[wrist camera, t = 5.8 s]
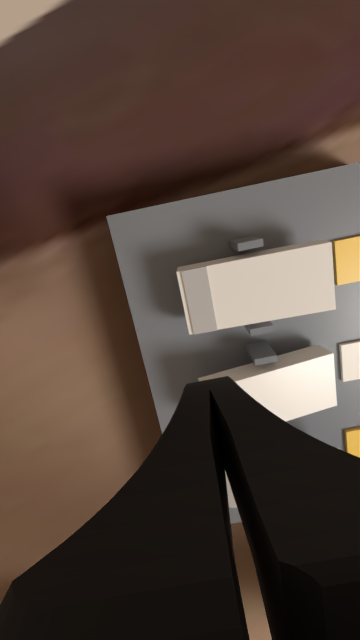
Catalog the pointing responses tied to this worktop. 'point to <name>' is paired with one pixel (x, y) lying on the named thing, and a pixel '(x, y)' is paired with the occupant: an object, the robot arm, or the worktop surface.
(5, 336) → the worktop surface
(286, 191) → the switch box
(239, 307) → the rocker
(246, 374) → the rocker
